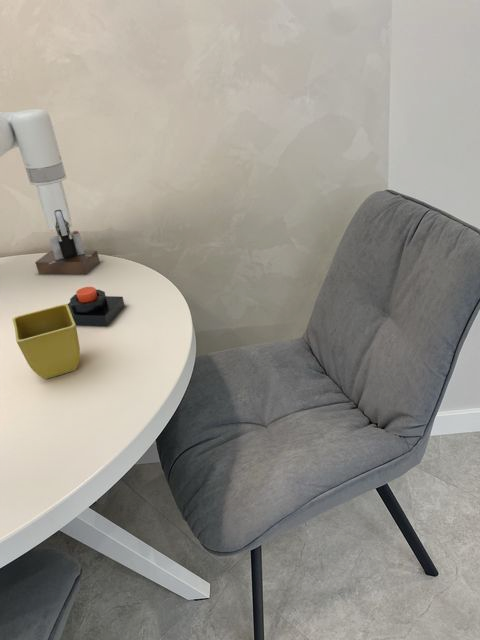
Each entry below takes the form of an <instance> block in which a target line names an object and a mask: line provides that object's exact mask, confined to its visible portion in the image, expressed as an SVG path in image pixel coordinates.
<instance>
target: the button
mask: <svg viewBox="0 0 480 640" xmlns="http://www.w3.org/2000/svg"><path fill="white" fill-rule="evenodd" d="M96 290H97V289H96V287H95V286H85V287H81V288H79V289H77V290H76V292H75V294H77V298H78V301H79V302H89V301H92V300H94V299H96V298H97V297H98V296H97V292H96Z"/></svg>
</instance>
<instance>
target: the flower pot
mask: <svg viewBox="0 0 480 640" xmlns="http://www.w3.org/2000/svg"><path fill="white" fill-rule="evenodd" d="M67 304H68V303H63V304H59V305H56V306H51V307H48V308H43V309H40V310H36V311H32V312H28V313H24V314H21V315H17V316H15V317H13V318H12V323H13V327H14V335H15V341H16V344H17V346H18V348H19V350H20V351H21V353H22V355H23V357H24V359H25V361H26V363H27V364H28V366H29V367H30V369H31V370H32V372H34V373H35V374H36V375H38V376H39V377H41V378H42V379H44V380H47V379H48V380H49V379H52V378H54V377H57V376H58V377H59V376H61V375H66V374H69V373H71V372H75V371H76V370H77V368H78V366H79V364H80V360H81V358H80V357H81V347H80V341H79V335H78V330H77V326H76V324H75V322H74V320H73V317H72V314H71V312H70V309H69V306H68V305H67Z"/></svg>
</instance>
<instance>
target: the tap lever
mask: <svg viewBox="0 0 480 640" xmlns="http://www.w3.org/2000/svg"><path fill="white" fill-rule="evenodd" d="M70 233H71V236H72V238H73V240H74V243H75V247H76V250H77V255H82V254H85V252H84V250H85V248H84V245H83V242H82V241H83V240H82V237H81V235H80V232H79V230H73V231H71V232H70ZM48 238H49V242H50V245H51V249H52V250H53V252H54V255H55V259H56V260H59V259H64V258H63V255H62V252H61V248H60V245H59V242H58V241H59V237H58V235H53V236H49V237H48ZM69 239H70V238H69Z"/></svg>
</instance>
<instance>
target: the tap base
mask: <svg viewBox="0 0 480 640" xmlns="http://www.w3.org/2000/svg"><path fill="white" fill-rule="evenodd" d="M84 252H85V254H82V255H77V256H73V257H69V258H64V259H59V260H56V259H55V255H54V252H53V249H52V250H50V251H47V253H45V254H44V255H43V256H41V257H39V259H37V260H36V261H35V262H34V263H35V267H36V269H37V272H38V274H39V275H72V276H73V275H75V276H76V275H84V276H86V275H87V274H89V273H90V272H91V271H92V270H93V269H94V268H95V267H96V266H97V265H99V264H100V263H101V261H100V258H99V254H98V253H99V252H98V250H97V249H96V250H95V249H91V250H88V249H87V250H85V249H84Z"/></svg>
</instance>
